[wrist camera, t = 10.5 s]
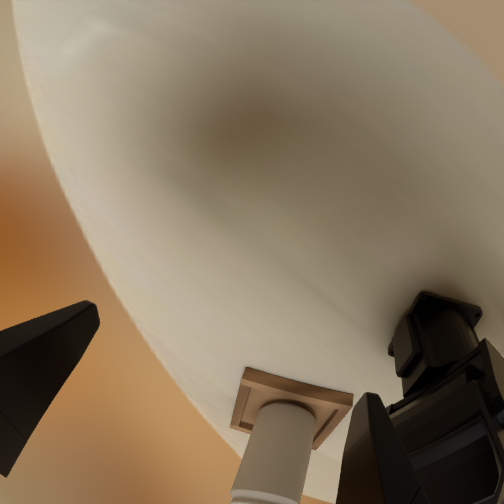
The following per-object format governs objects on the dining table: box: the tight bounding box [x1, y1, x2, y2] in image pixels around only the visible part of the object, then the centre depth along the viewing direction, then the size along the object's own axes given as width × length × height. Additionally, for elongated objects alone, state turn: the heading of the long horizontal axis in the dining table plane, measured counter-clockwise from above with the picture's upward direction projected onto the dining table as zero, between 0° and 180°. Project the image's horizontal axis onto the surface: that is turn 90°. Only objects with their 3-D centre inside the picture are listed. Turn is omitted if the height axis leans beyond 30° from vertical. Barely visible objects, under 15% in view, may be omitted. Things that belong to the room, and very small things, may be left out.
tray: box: [230, 367, 353, 450], centre depth 29 cm, size 11×11×2 cm
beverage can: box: [230, 402, 316, 504], centre depth 24 cm, size 6×6×12 cm
